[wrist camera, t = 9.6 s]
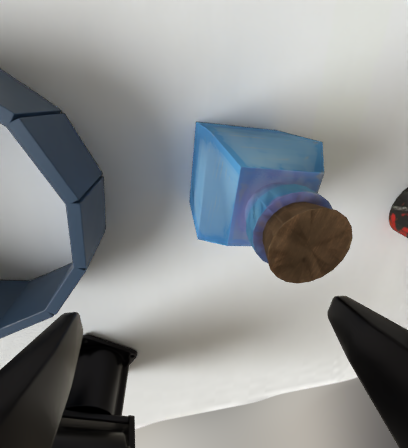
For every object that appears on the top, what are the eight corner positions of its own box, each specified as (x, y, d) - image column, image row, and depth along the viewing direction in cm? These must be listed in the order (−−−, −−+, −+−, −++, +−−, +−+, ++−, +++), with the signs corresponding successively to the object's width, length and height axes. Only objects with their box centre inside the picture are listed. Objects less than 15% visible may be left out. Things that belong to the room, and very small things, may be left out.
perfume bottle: (196, 121, 17) (242, 153, 7) (275, 130, 18) (426, 168, 8) (189, 201, 20) (214, 314, 9) (259, 204, 21) (353, 309, 10)
